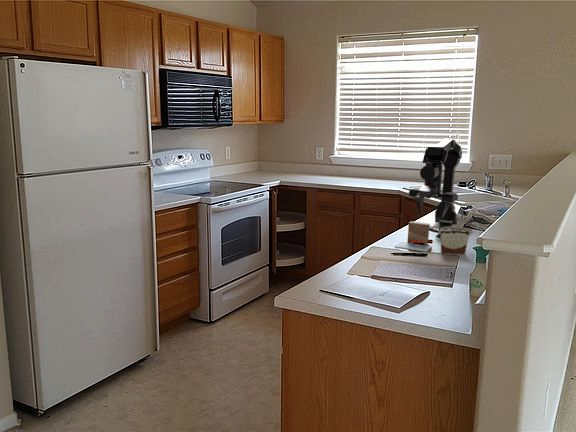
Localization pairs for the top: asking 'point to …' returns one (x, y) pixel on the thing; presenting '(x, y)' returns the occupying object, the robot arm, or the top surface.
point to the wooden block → (418, 232)
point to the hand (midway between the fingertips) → (431, 215)
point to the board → (413, 246)
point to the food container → (454, 240)
